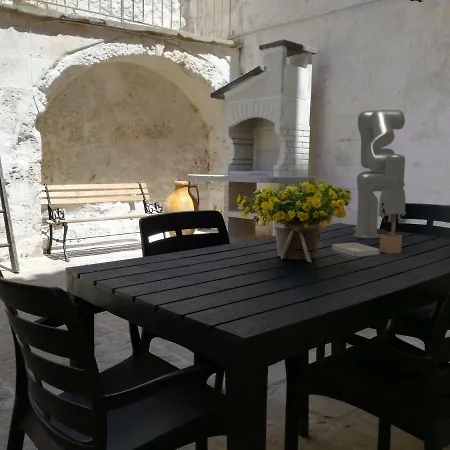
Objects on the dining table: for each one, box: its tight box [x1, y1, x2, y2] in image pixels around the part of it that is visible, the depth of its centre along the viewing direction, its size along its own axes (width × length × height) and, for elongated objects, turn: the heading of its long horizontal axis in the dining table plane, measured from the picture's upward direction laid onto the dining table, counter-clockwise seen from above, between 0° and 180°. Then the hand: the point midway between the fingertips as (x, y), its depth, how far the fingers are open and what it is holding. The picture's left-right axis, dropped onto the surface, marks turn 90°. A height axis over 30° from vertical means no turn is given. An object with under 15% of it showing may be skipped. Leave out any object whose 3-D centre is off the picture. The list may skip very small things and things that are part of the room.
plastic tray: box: [331, 242, 381, 260], centre depth 211 cm, size 16×12×3 cm
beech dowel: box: [386, 214, 397, 236], centre depth 210 cm, size 3×3×16 cm
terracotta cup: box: [379, 233, 403, 255], centre depth 211 cm, size 6×6×8 cm
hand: (391, 230), depth 210 cm, fingers closed on beech dowel, 3 cm apart
